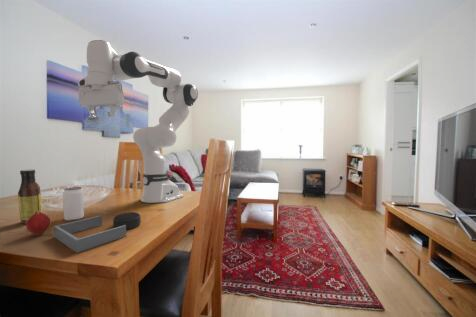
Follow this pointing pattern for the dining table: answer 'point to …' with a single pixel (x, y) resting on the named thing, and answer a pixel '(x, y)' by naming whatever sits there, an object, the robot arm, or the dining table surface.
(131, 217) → the smart speaker
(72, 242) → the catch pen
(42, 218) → the onion
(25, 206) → the sauce bottle
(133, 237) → the dining table surface
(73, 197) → the can
